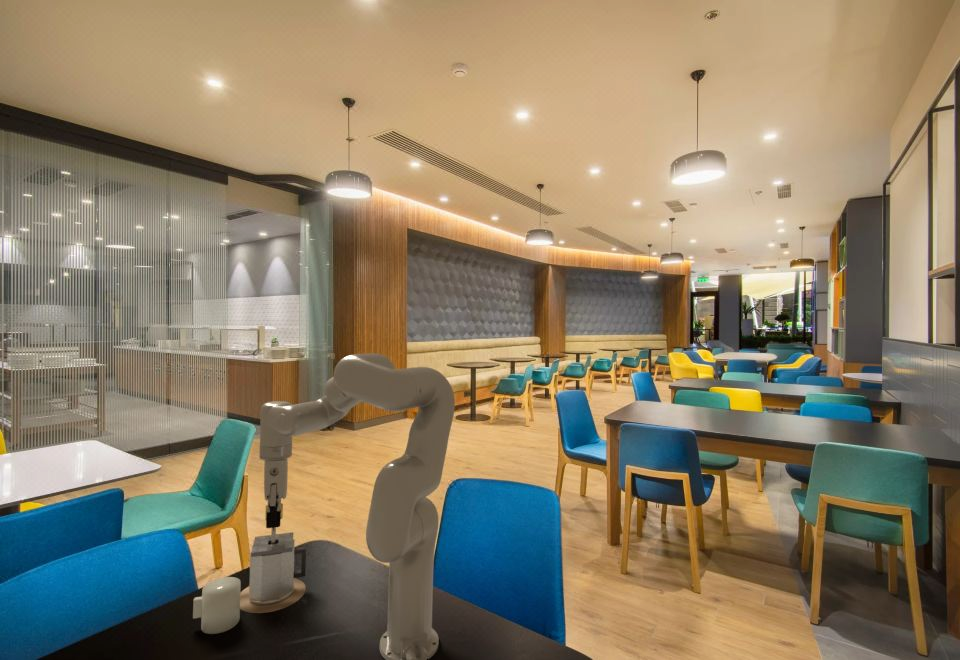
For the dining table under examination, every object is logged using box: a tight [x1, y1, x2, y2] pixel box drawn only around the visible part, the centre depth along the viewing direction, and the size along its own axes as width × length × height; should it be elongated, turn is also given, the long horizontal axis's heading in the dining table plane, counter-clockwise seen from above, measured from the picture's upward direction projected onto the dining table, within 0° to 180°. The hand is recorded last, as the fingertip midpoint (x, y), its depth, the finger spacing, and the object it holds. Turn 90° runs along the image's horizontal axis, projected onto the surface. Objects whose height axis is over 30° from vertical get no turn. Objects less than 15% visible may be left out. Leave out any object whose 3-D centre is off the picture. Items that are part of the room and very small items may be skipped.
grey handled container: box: [248, 531, 307, 606], centre depth 117 cm, size 10×13×13 cm
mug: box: [192, 576, 242, 635], centre depth 104 cm, size 8×9×9 cm
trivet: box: [240, 578, 307, 614], centre depth 116 cm, size 16×16×1 cm
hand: (273, 522), depth 116 cm, fingers closed on plunger, 4 cm apart
